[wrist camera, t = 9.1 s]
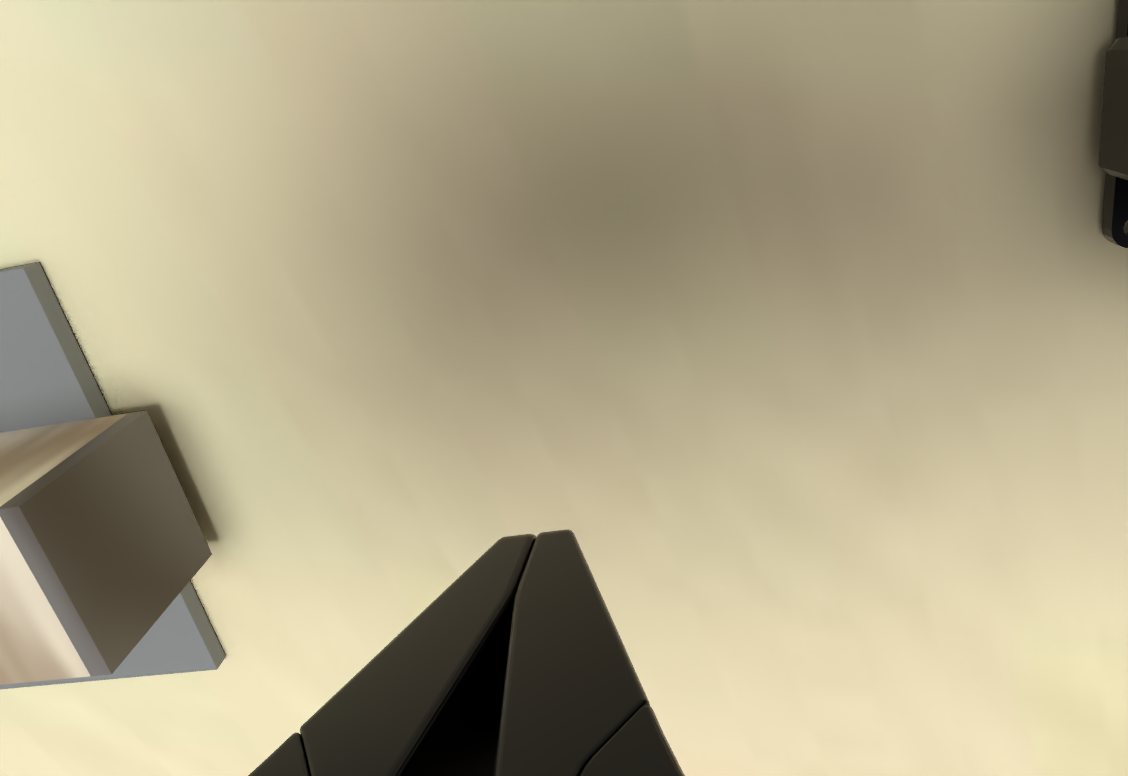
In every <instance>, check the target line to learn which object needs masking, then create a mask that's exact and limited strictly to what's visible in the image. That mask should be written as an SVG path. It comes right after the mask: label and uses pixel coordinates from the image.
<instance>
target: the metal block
mask: <svg viewBox="0 0 1128 776" xmlns="http://www.w3.org/2000/svg"><path fill="white" fill-rule="evenodd" d="M211 555H212V553H211V551H210V549H209V546H208V544H207V542H206V540H205V538H204V535H203V533H202V531H201V529H200V527H199V524H198V522H197V520H196V518H195V515H194V513H193V511H192V509H191V507H190V504H189V502H188V500H187V498H186V496H185V493H184V491H183V489H182V487H181V485H180V482H179V480H178V478H177V476H176V473H175V471H174V469H173V467H172V465H171V462H170V460H169V458H168V456H167V454H166V451H165V449H164V447H163V445H162V443H161V440H160V438H159V436H158V434H157V431H156V429H155V427H154V425H153V423H152V420H151V418H150V416H149V414H148V412H147V410H145V411H139V412H132V413H126V414H119V415H113V416H107V417H100V418H94V419H87V420H81V421H74V422H68V423H61V424H55V425H48V426H42V427H35V428H29V429H22V430H16V431H9V432H3V433H0V685H3V684H14V683H25V682H35V681H46V680H57V679H68V678H78V677H89V676H100V675H111V674H113V672H114V671H115V670H116V669H117V668H118V666H119V665H120V664H121V663H122V662H123V660H124V659H125V658H126V657H127V656H128V654H129V653H130V652H131V651H132V650H133V648H134V647H135V646H136V645H137V644H138V642H139V641H140V640H141V639H142V638H143V636H144V635H145V634H146V633H147V632H148V630H149V629H150V628H151V627H152V626H153V624H154V623H155V622H156V621H157V620H158V618H159V617H160V616H161V615H162V614H163V612H164V611H165V610H166V609H167V608H168V606H169V605H170V604H171V603H172V602H173V600H174V599H175V598H176V597H177V596H178V594H179V593H180V592H181V591H182V590H183V588H184V587H185V586H186V585H187V584H188V582H189V581H190V580H191V579H192V578H193V576H194V575H195V574H196V573H197V572H198V570H199V569H200V568H201V567H202V566H203V564H204V563H205V562H206V561H207V560H208V558H209V557H210V556H211Z"/></svg>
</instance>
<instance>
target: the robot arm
mask: <svg viewBox="0 0 1128 776" xmlns="http://www.w3.org/2000/svg"><path fill="white" fill-rule="evenodd" d="M1099 166H1100V167H1101V168H1102V169H1103V170H1105V171H1106V180H1105V193H1104V207H1103V220H1102V229H1103V234H1104V236H1105V237H1106V238H1107V240H1109V241H1111V242H1113V243H1115V244H1117V245H1120V246H1122V247H1124V248H1128V232H1127V233H1125V234H1124V231H1123V227H1124V224H1125V222H1126V221H1127V220H1128V0H1119V3H1118V17H1117V30H1116V40H1115V42H1114V43H1113V44H1112V46H1111V47H1110V48H1109V49H1108V51H1107V53H1106V65H1105V79H1104V94H1103V108H1102V122H1101V137H1100V151H1099ZM300 733H301V735H300V734H299V733H294V734H293V735H292V736H290V737H289V738H288V739H287V740H286V741H285V742H284V743H283V744H282V745H281V746H280V747H279V748H278V749H277V750H276V751H275V752H274V753H272V754H271V755H270V756H269V757H268V758H267V759H266V760H265V761H264V762H263V763H262V764H261V765H259V766H258V767H257V768H256V769H255V770H254V771H253V772H252V773H251V774H250V775H248V776H685V775H684V774H683V772H682V770H681V768H680V766H679V764H678V762H677V760H676V758H675V756H674V754H673V752H672V750H671V748H670V746H669V744H668V742H667V740H666V738H665V736H664V734H663V731H662V729H661V727H660V725H659V722H658V720H657V718H656V716H655V713H654V711H653V709H652V708H651V707H650V704H649V701H648V699H647V696H646V694H645V692H644V690H643V687H642V685H641V683H640V681H639V678H638V676H637V674H636V672H635V670H634V667H633V665H632V663H631V661H630V658H629V656H628V654H627V652H626V649H625V647H624V645H623V643H622V640H621V638H620V636H619V634H618V631H617V629H616V627H615V625H614V622H613V620H612V618H611V616H610V614H609V611H608V609H607V607H606V605H605V602H604V600H603V598H602V596H601V593H600V591H599V589H598V587H597V584H596V582H595V580H594V578H593V575H592V573H591V571H590V569H589V566H588V564H587V562H586V560H585V558H584V555H583V553H582V551H581V549H580V546H579V544H578V542H577V540H576V537H575V535H574V533H573V532H572V531H571V530H559V531H551V532H543V533H540V534H539V535H537V537H536V536H535V535H533V534H526V535H517V536H508V537H503V538H501V539H500V540H498V541H497V542H496V543H495V544H494V545H493V546H492V547H491V548H490V549H489V550H488V551H486V552H485V553H484V554H483V555H482V556H481V557H480V558H479V559H478V560H477V561H476V562H475V563H474V564H473V565H472V566H471V567H470V568H468V569H467V570H466V571H465V572H464V573H463V574H462V575H461V576H460V577H459V578H458V579H457V580H456V581H455V582H454V583H453V584H452V585H450V586H449V587H448V588H447V589H446V590H445V591H444V592H443V593H442V594H441V595H440V596H439V597H438V598H437V599H436V600H435V601H434V602H433V603H431V604H430V605H429V606H428V607H427V608H426V609H425V610H424V611H423V612H422V613H421V614H420V615H419V616H418V617H417V618H416V619H415V620H413V621H412V622H411V623H410V624H409V625H408V626H407V627H406V628H405V629H404V630H403V631H402V632H401V633H400V634H399V635H398V636H397V637H395V638H394V639H393V640H392V641H391V642H390V643H389V644H388V645H387V646H386V647H385V648H384V649H383V650H382V651H381V652H380V653H379V654H378V655H376V656H375V657H374V658H373V659H372V660H371V661H370V662H369V663H368V664H367V665H366V666H365V667H364V668H363V669H362V670H361V671H360V672H358V673H357V674H356V675H355V676H354V677H353V678H352V679H351V680H350V681H349V682H348V683H347V684H346V685H345V686H344V687H343V688H342V689H340V690H339V691H338V692H337V693H336V694H335V695H334V696H333V697H332V698H331V699H330V700H329V701H328V702H327V703H326V704H325V705H324V706H322V707H321V708H320V709H319V710H318V711H317V712H316V713H315V714H314V715H313V716H312V717H311V718H310V719H309V720H308V721H307V722H306V723H304V724H303V725H302V726H301V728H300Z"/></svg>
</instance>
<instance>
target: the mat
mask: <svg viewBox="0 0 1128 776" xmlns="http://www.w3.org/2000/svg"><path fill="white" fill-rule="evenodd" d="M107 416H112V415H111V413H110V411H109V409H108V406H107V404H106V402H105V400H104V398H103V396H102V394H101V392H100V390H99V387H98V385H97V383H96V381H95V379H94V377H93V375H92V373H91V371H90V368H89V366H88V364H87V362H86V360H85V358H84V356H83V354H82V352H81V349H80V347H79V345H78V343H77V341H76V339H75V337H74V335H73V333H72V330H71V328H70V326H69V324H68V322H67V320H66V318H65V316H64V314H63V311H62V309H61V307H60V305H59V303H58V301H57V299H56V297H55V295H54V292H53V290H52V288H51V286H50V284H49V282H48V280H47V278H46V276H45V273H44V271H43V269H42V267H41V265H40V263H39V262H37V263H32V264H26V265H21V266H16V267H11V268H6V269H1V270H0V433H3V432H9V431H16V430H22V429H29V428H35V427H42V426H48V425H55V424H61V423H68V422H74V421H81V420H87V419H94V418H100V417H107ZM225 657H226V656H225V654H224V652H223V649H222V647H221V645H220V643H219V641H218V639H217V637H216V635H215V633H214V630H213V628H212V626H211V624H210V622H209V620H208V618H207V616H206V613H205V611H204V609H203V607H202V605H201V603H200V601H199V599H198V597H197V594H196V592H195V590H194V588H193V586H192V584H191V582H190V581H189V582H188V584H187V585H186V586H185V587H184V588H183V590H182V591H181V592H180V593H179V594H178V596H177V597H176V598H175V599H174V600H173V602H172V603H171V604H170V605H169V606H168V608H167V609H166V610H165V611H164V612H163V614H162V615H161V616H160V617H159V618H158V620H157V621H156V622H155V623H154V624H153V626H152V627H151V628H150V629H149V630H148V632H147V633H146V634H145V635H144V636H143V638H142V639H141V640H140V641H139V642H138V644H137V645H136V646H135V647H134V648H133V650H132V651H131V652H130V653H129V654H128V656H127V657H126V658H125V659H124V660H123V662H122V663H121V664H120V665H119V666H118V668H117V669H116V670H115V671H114V672H113V674H111V675H100V676H89V677H78V678H68V679H57V680H46V681H35V682H25V683H14V684H3V685H0V689H9V688H20V687H30V686H41V685H52V684H63V683H74V682H85V681H96V680H107V679H118V678H129V677H139V676H150V675H161V674H172V673H183V672H194V671H205V670H216V669H218V667H219V666H220V664H221V663H222V661H223V660H224V658H225Z"/></svg>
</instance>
